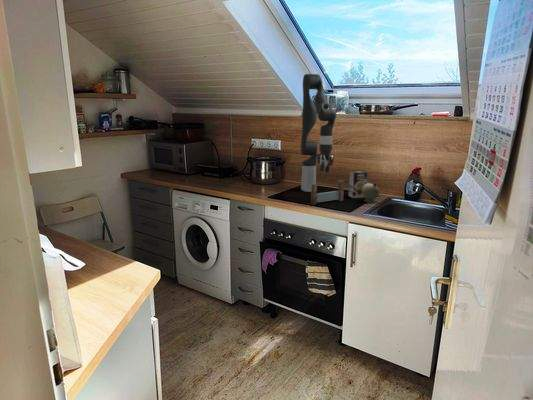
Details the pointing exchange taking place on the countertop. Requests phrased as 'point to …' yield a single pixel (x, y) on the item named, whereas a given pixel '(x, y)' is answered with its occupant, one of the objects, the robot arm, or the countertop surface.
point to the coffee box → (357, 183)
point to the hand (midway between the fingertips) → (324, 171)
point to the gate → (327, 196)
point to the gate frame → (314, 190)
